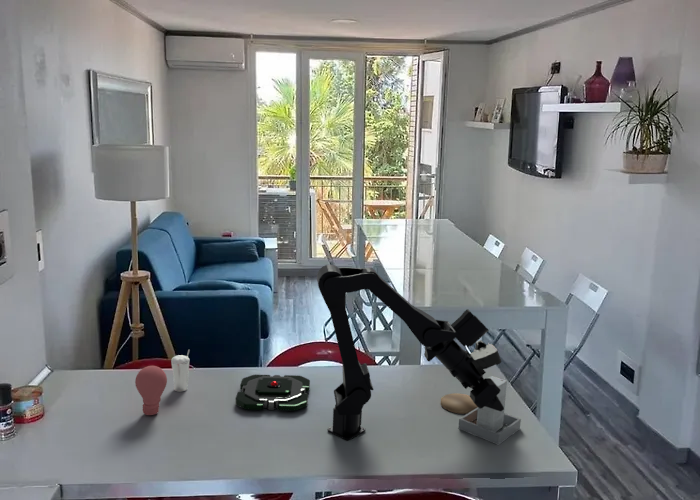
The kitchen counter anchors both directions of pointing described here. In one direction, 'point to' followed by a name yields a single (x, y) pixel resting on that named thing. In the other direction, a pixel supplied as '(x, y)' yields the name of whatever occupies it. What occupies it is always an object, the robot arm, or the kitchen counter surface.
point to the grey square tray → (486, 433)
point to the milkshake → (180, 372)
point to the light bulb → (151, 387)
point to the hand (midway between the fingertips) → (497, 402)
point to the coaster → (458, 403)
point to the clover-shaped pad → (273, 392)
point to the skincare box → (491, 416)
